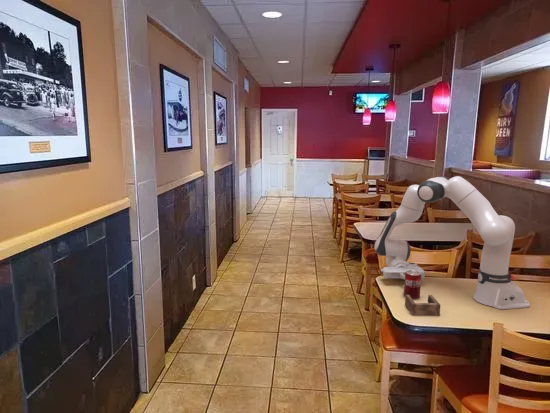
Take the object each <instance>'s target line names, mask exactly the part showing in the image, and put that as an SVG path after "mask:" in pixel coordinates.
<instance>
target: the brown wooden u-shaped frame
mask: <svg viewBox="0 0 550 413" xmlns="http://www.w3.org/2000/svg"><path fill="white" fill-rule="evenodd" d="M404 306H405V307H406V308H405V309H407V311H408V312H409V314H410V315H411V316H416V317H417V316H422V317H423V316H424V317H425V316H427V317H431V316H432V317H433V316H435V317H440V315H441V303H440V302H439V301H438V300H437V299H436V298H435V297H434V296H433V295H432V294H428V296H427V302H415V301H414V300H413V299H412V298H411V297H410V295H405V296H404Z"/></svg>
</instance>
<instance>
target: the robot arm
mask: <svg viewBox="0 0 550 413" xmlns="http://www.w3.org/2000/svg"><path fill="white" fill-rule="evenodd" d="M444 198H448V199H450V200H451V201H452V202H453V203H454V204H455V205H456V207H457V208H458V209H459V210H460V211H462V213H464V214H465V216H466V217H467V218H468V219H469V221H470V222H471V224H472V225H473V227H474V228H475V229H476V231H477V232H478V233H479V235H480V237H481V239H482V241H484V243H483V247H482V251H481V255H480V266H479V269H478V275H477V285H476V289H475V292H474V294H473V296H472V299H474V300H475V301H476V302H477V303H480V304H482V305H485V306H487V307H488V306H490V307H492V308H496V309H498V310H511V309H522V308H523V309H524V308H530V307H531V306H530V305H531V304H530V302H529V301H528V300H527V299H526V298H525V293H524V291H523V289H522V288H521V287H520V286H519V285H517V284H516V283H515V282H514V281H516V280H517V275H515V274H512V273H510V272H509V268H510V258H511V254H512V253H511V252H512V249H513V243H514V236H515V231H516V225H515V222H514V220H513V219H512V218H511V217H509V216H507V215H501V214H500V215H499V214H498V213H497V212H496V210H495V209H494V208H493V206H492V203H491V202H490V201H489V200H488V199H487V197H485V196H484V195H483V194H482V193H481V192H480V191H479V190H478V189H477V188H476V187H475V186H474V185H472V183H470V182H469V181H468V180H467V179H465V178H463V176H460V175H459V176H458V175H457V176H453V177H451V178H449V177H446V176H443V175H442V176H441V175H438V176H435V177H430V178H428V179H427V180H424V181H422V182H421V183H420V184H411V185H409V186H408V187H407V189H406V191H405V192H404V196H403V198H402V200H401V203H400V206H399V207H398V208H397V209H396V210H395V211H392V212H391V213H390V215H389V216H388V218H387V220H386V222H385V224H384V227H383V228H382V231H381V232H380V234H379V236H378V237H377V238H376V241H375V242H374V246H373V247H374V251H375V252H376V254H377V255H378V256H380V257H382V256H384V257H386V258H385V264H386V265H387V266H385V267H383V268H380V272H381V273H382V275H383V278H384V279H401V280H405V272H406V271H408V270H414V271H418V272H420V273H421V280H423V279H425V274H426V273H425V272H426V271H425V270H424V269H423V268H422V267H421V266H418V263H416V262H409V261H408V260H409V259H410V256H411V250H412V249H411V245H410V244H409V242H408V241H407V240H404V239H395V238H390V237H391V234H392V233H393V232H394V229H395V228H396V227H398V226H400V225H403V224H409V223H410V224H411V223H414V222H416V221H418V220H419V219H420V218H421V216H422V214H423V211H424V208H425V205H426V203H434V202H437V201H439V200H442V199H444ZM512 280H513V281H512Z"/></svg>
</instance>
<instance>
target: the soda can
mask: <svg viewBox="0 0 550 413" xmlns="http://www.w3.org/2000/svg"><path fill="white" fill-rule="evenodd" d="M403 280H404V279H403ZM403 284H404V285H403V296H404V297H405V295H410V297H411V298H412V299H413V301H414V300H418V299H420V298H421V288H422V286H421V284H422V278H421V273H420V272H418V271H414V270H408V271H406V272H405V280H404V282H403Z"/></svg>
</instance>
